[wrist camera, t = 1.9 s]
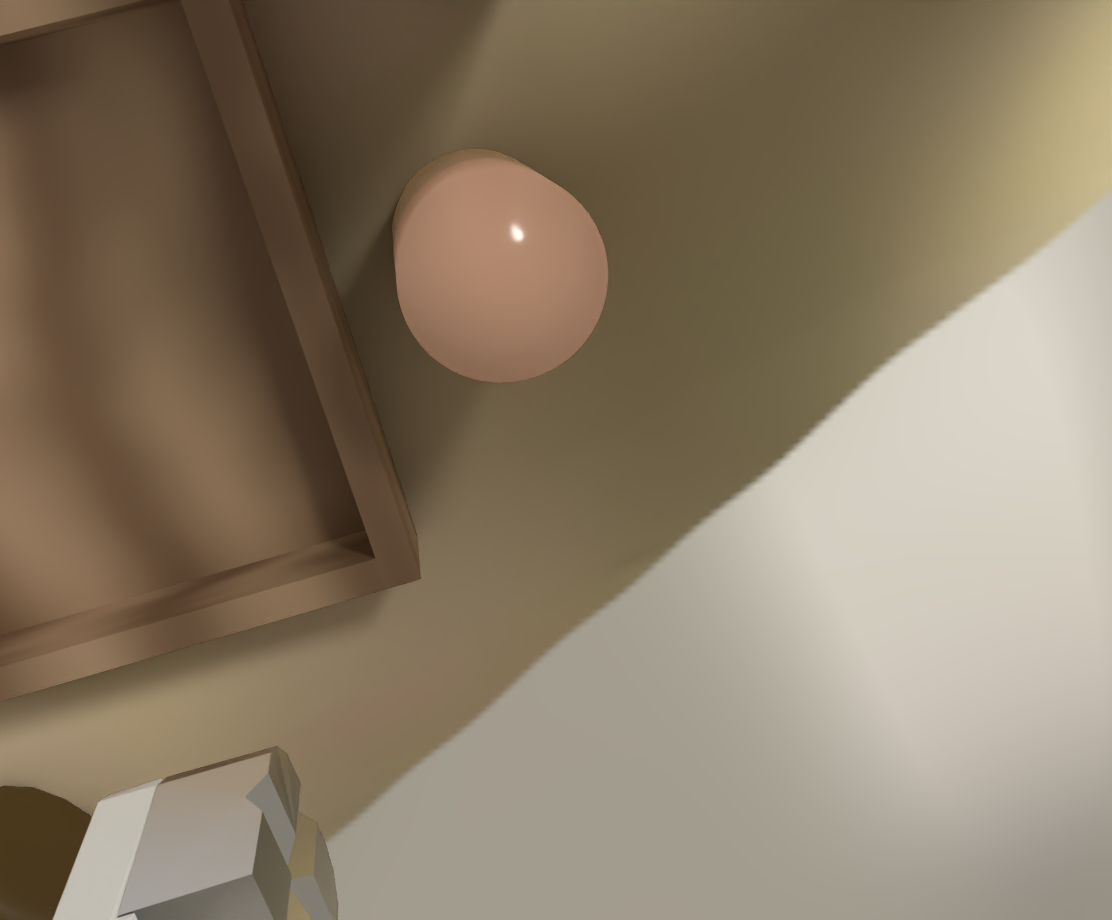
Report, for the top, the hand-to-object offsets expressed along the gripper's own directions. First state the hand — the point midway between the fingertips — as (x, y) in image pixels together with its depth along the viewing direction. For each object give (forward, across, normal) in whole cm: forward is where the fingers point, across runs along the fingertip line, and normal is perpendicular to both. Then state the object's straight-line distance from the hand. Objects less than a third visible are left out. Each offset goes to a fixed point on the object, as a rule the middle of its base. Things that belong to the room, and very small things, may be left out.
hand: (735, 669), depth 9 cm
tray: (+27, +13, 0) cm, 30 cm away
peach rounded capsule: (+27, 0, 0) cm, 27 cm away
